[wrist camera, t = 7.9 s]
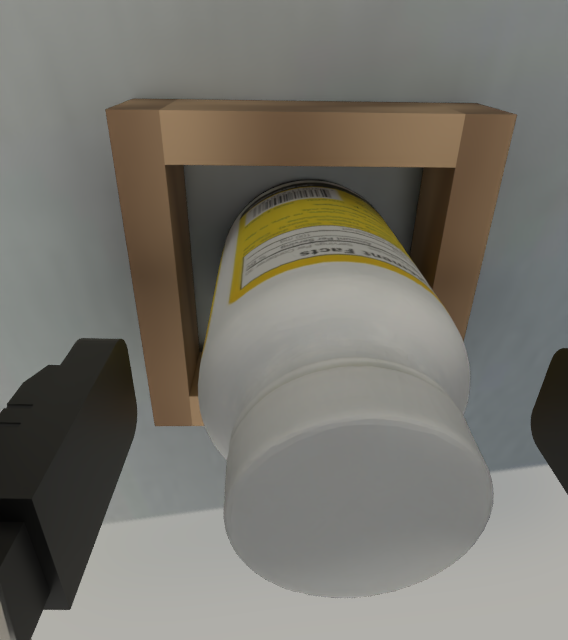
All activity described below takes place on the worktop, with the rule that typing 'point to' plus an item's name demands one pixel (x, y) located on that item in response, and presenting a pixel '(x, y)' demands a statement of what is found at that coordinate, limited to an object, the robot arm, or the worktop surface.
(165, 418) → the wooden frame
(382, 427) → the supplement bottle
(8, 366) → the worktop surface
